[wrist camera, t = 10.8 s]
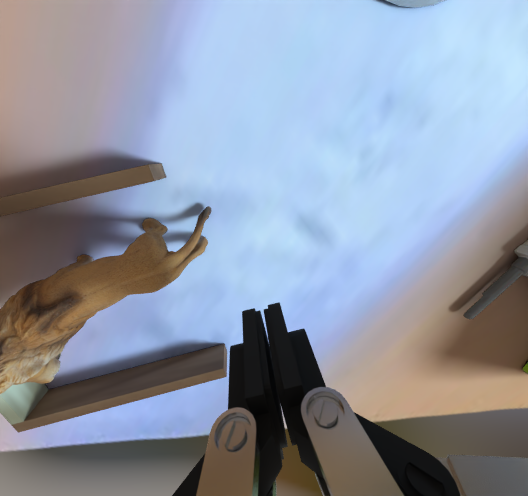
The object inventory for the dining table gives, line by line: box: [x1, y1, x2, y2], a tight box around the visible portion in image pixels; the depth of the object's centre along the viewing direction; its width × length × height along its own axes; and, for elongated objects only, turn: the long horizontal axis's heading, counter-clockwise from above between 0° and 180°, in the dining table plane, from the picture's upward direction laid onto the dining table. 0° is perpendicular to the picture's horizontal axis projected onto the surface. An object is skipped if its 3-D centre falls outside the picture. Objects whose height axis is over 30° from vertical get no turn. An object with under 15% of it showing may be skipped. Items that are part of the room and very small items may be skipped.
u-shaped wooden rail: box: [0, 163, 227, 432], centre depth 19 cm, size 18×18×3 cm
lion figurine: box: [0, 206, 211, 394], centre depth 15 cm, size 15×5×9 cm, turn 123°
